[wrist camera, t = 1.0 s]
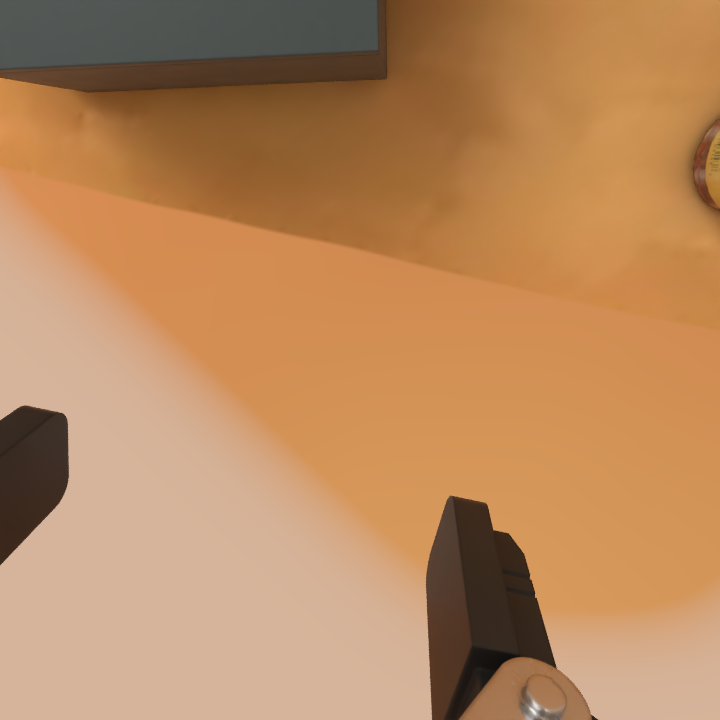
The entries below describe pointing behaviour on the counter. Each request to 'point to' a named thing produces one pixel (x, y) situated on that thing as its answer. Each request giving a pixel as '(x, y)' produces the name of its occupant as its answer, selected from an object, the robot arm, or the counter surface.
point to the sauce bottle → (709, 167)
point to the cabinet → (190, 42)
